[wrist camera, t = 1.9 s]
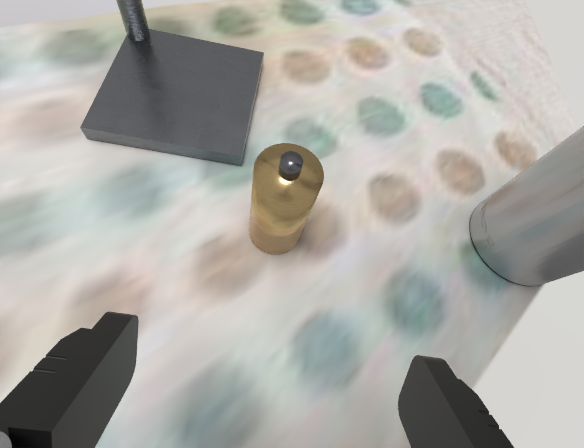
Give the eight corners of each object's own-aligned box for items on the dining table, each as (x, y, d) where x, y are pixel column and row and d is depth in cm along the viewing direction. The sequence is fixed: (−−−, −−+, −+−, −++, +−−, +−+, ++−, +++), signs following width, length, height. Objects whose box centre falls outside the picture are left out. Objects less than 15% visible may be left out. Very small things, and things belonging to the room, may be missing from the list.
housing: (302, 211, 31) (330, 138, 22) (297, 258, 29) (325, 198, 20) (253, 203, 30) (260, 125, 21) (244, 249, 28) (248, 185, 19)
